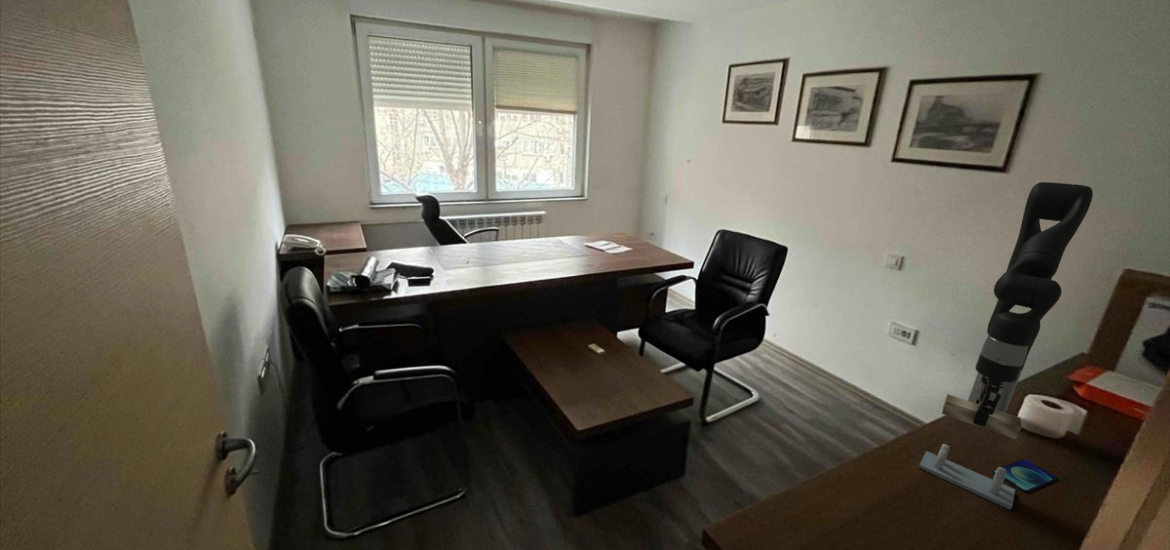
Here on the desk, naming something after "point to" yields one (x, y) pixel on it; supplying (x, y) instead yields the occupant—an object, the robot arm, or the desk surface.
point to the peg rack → (969, 478)
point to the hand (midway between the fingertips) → (978, 419)
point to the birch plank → (995, 422)
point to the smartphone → (1026, 475)
